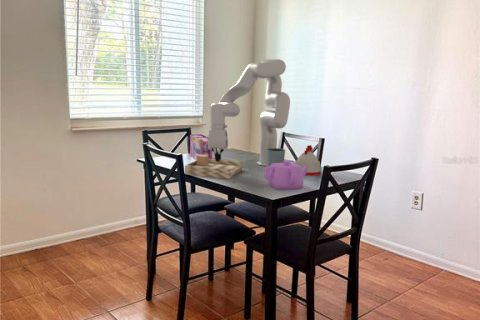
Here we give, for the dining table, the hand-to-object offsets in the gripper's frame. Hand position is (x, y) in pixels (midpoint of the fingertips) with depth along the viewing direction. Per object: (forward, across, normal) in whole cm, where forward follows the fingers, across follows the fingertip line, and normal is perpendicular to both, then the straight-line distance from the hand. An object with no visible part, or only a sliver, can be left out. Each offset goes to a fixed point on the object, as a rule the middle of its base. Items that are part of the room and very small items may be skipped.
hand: (217, 160), depth 229 cm
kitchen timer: (+7, -46, -16) cm, 49 cm away
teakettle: (+6, -41, +18) cm, 45 cm away
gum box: (+6, +21, -26) cm, 34 cm away
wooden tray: (+5, 0, +5) cm, 7 cm away
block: (+3, +8, +1) cm, 9 cm away
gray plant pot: (+6, -29, -12) cm, 32 cm away
